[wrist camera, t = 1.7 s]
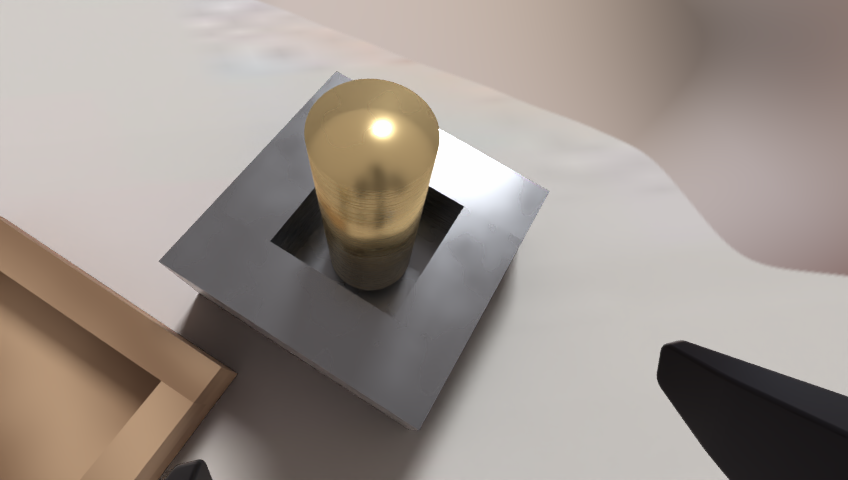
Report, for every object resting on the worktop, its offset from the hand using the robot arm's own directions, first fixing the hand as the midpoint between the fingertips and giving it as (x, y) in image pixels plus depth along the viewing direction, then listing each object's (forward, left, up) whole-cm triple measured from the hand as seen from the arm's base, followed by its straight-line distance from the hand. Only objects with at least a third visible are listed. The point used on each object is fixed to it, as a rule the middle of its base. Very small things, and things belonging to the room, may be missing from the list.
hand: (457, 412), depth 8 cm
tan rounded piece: (+6, +6, -12) cm, 14 cm away
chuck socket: (+6, +6, -13) cm, 15 cm away
